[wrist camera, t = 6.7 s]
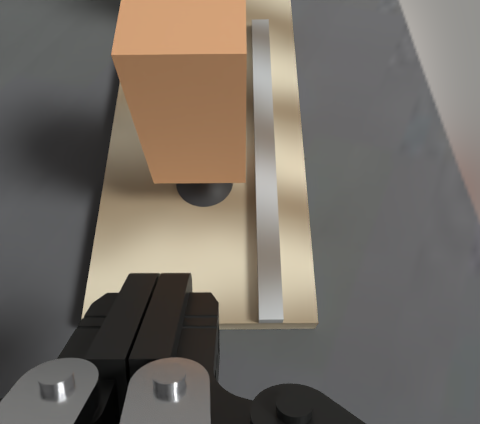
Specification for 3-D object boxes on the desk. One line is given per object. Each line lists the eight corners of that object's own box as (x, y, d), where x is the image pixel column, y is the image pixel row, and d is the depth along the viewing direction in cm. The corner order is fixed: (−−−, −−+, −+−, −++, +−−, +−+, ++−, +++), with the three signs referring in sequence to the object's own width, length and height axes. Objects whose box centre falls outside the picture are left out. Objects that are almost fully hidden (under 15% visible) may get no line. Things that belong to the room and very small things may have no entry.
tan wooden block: (245, 203, 21) (246, 53, 13) (160, 203, 21) (111, 54, 13) (244, 134, 23) (245, -32, 15) (166, 135, 23) (126, -31, 15)
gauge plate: (314, 328, 20) (372, 229, 11) (87, 330, 20) (-37, 231, 11) (286, -21, 31) (303, -208, 22) (141, -19, 31) (101, -206, 22)
